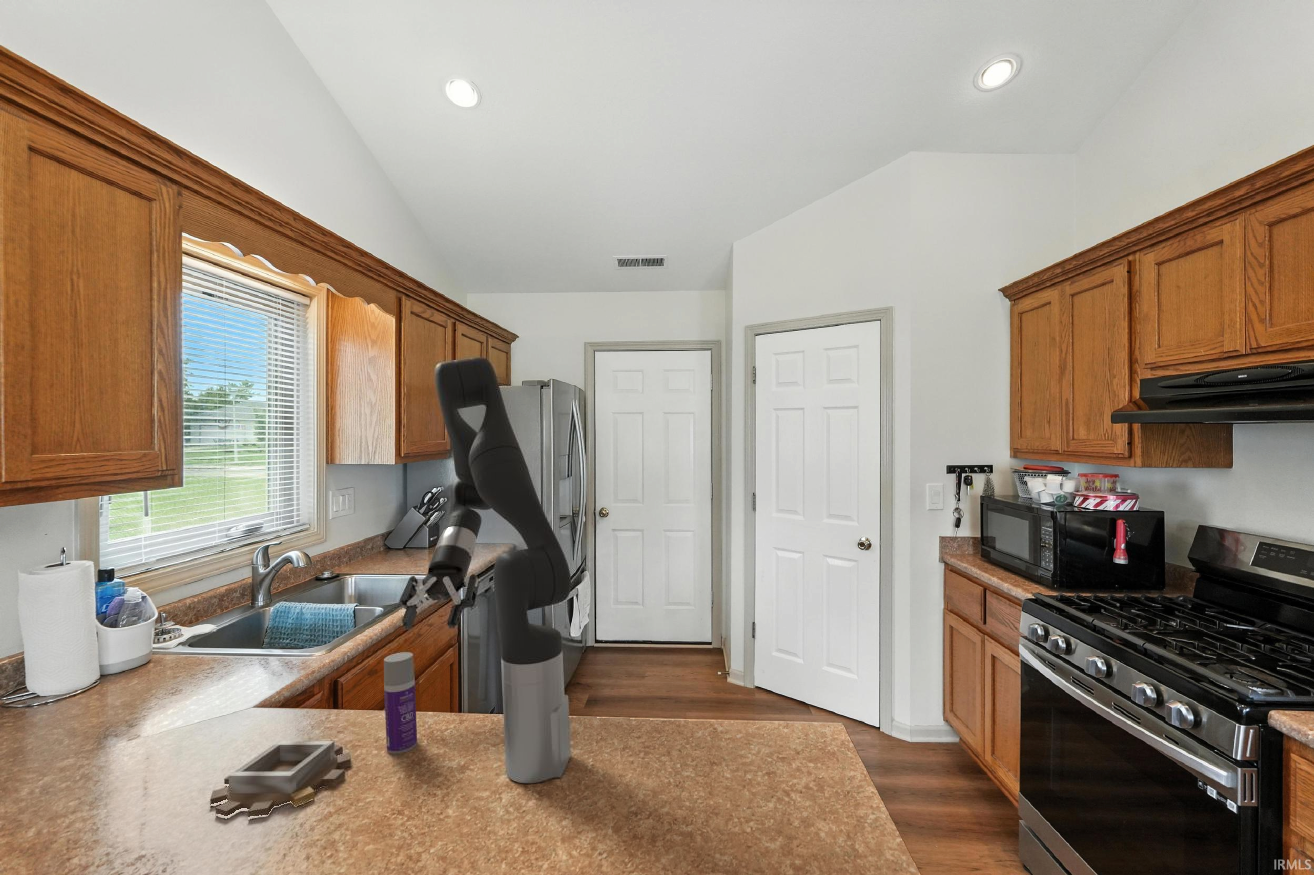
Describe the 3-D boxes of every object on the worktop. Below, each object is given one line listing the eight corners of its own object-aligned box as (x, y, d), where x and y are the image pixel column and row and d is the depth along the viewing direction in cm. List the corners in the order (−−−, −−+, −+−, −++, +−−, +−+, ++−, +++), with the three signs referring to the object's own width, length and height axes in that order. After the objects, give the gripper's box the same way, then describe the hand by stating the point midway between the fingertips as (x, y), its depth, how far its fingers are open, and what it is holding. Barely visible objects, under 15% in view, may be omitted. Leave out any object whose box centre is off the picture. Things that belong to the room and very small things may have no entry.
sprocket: (373, 751, 94) (373, 728, 94) (298, 820, 76) (297, 792, 76) (274, 751, 95) (273, 729, 95) (177, 819, 78) (177, 792, 78)
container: (405, 755, 92) (401, 662, 92) (380, 753, 93) (376, 661, 93) (423, 740, 96) (419, 652, 97) (398, 739, 97) (395, 651, 98)
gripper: (413, 544, 115) (383, 618, 103) (481, 542, 114) (458, 616, 102) (427, 565, 120) (400, 637, 108) (492, 563, 119) (472, 635, 107)
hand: (428, 627), depth 105 cm, fingers open, 8 cm apart
